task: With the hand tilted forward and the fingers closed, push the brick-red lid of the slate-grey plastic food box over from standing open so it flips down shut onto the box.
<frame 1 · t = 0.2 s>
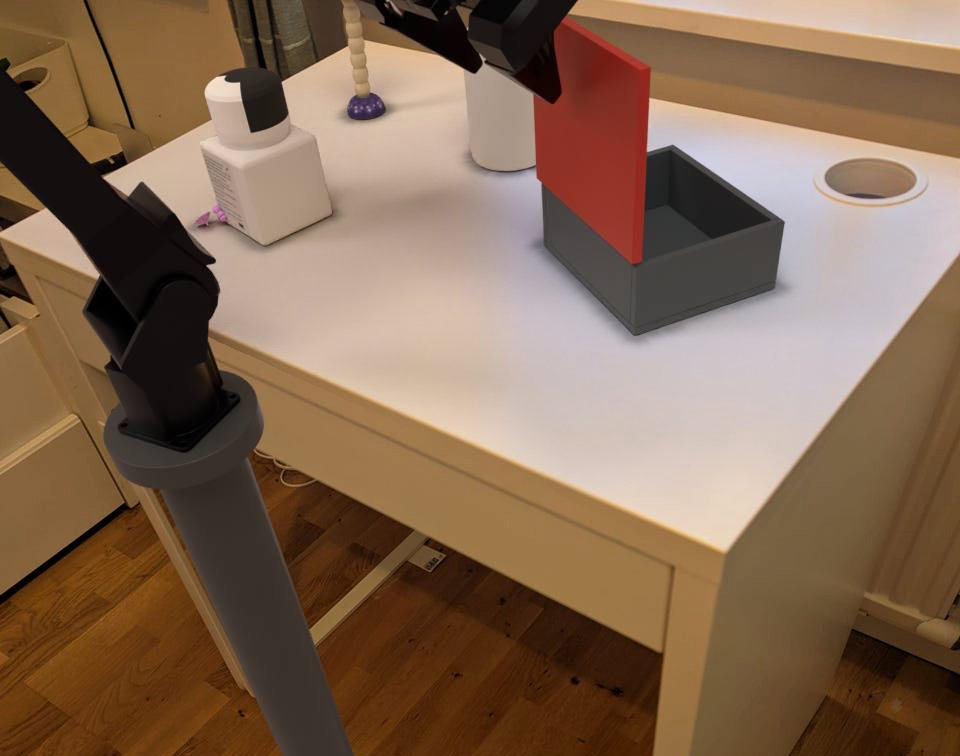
hand: (515, 83, 68), 15 cm above the table, tool tilted 30°, fingers open, 9 cm apart
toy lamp: (368, 114, 104), on the table
pill bottle: (511, 157, 93), on the table
pink bumpy piece: (213, 224, 88), on the table, touching container
lid: (585, 130, 66), point 13 cm above the table, hinge at 89.4°
food box: (653, 265, 76), on the table
container: (278, 220, 88), on the table, touching pink bumpy piece
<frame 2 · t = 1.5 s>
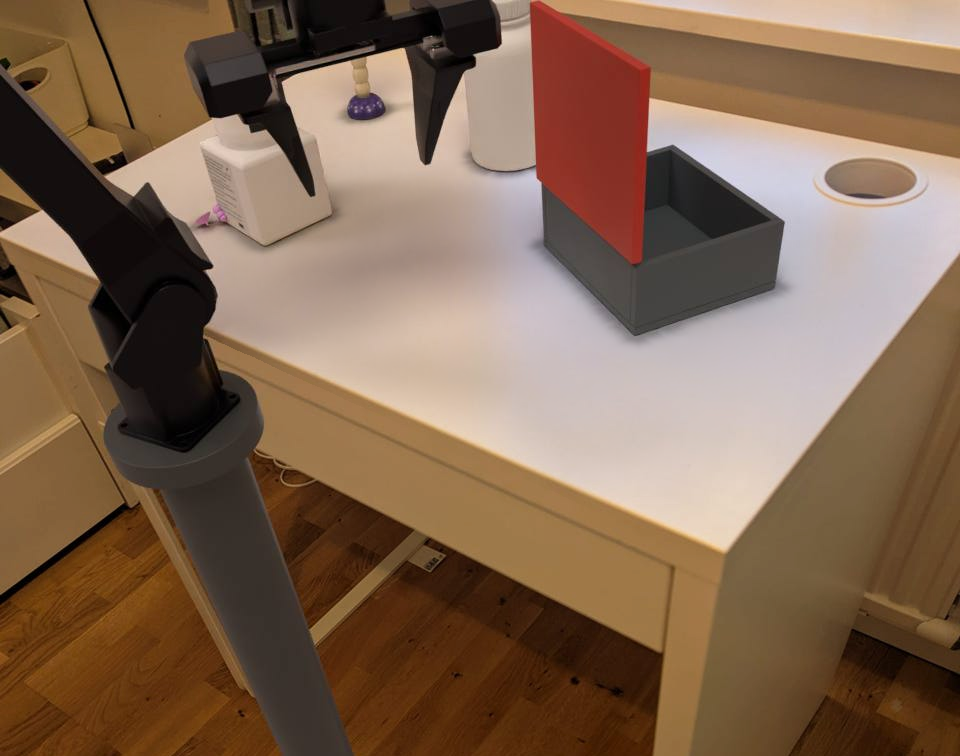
hand: (369, 178, 63), 13 cm above the table, tool pointing down, fingers open, 8 cm apart
nothing on the table moved.
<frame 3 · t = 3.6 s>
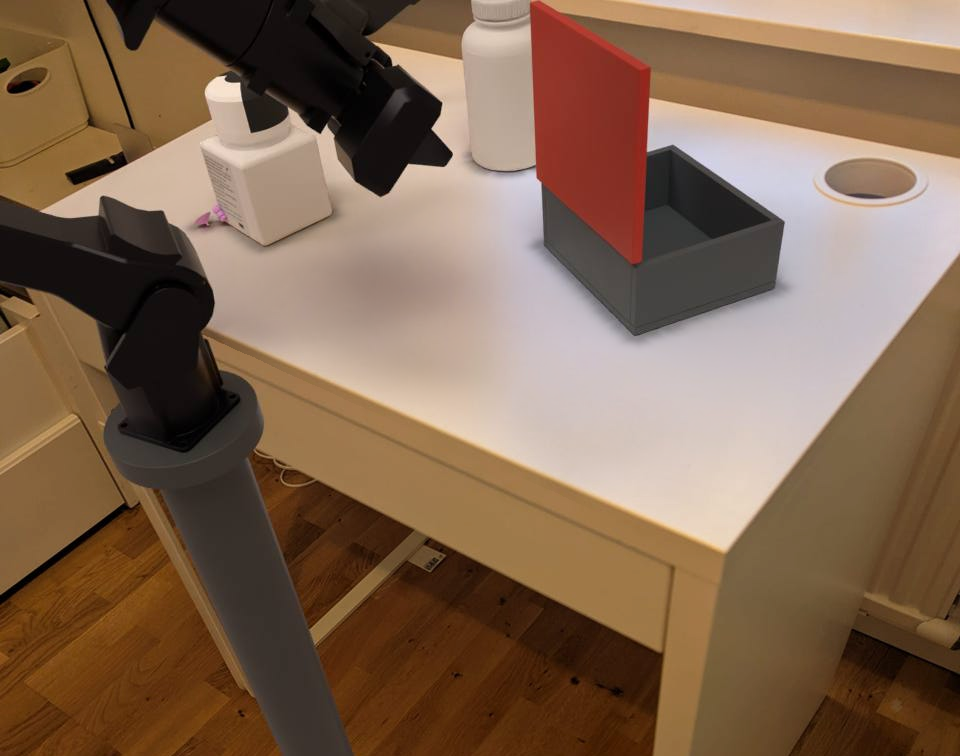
hand: (447, 158, 63), 13 cm above the table, tool tilted 45°, fingers closed
nothing on the table moved.
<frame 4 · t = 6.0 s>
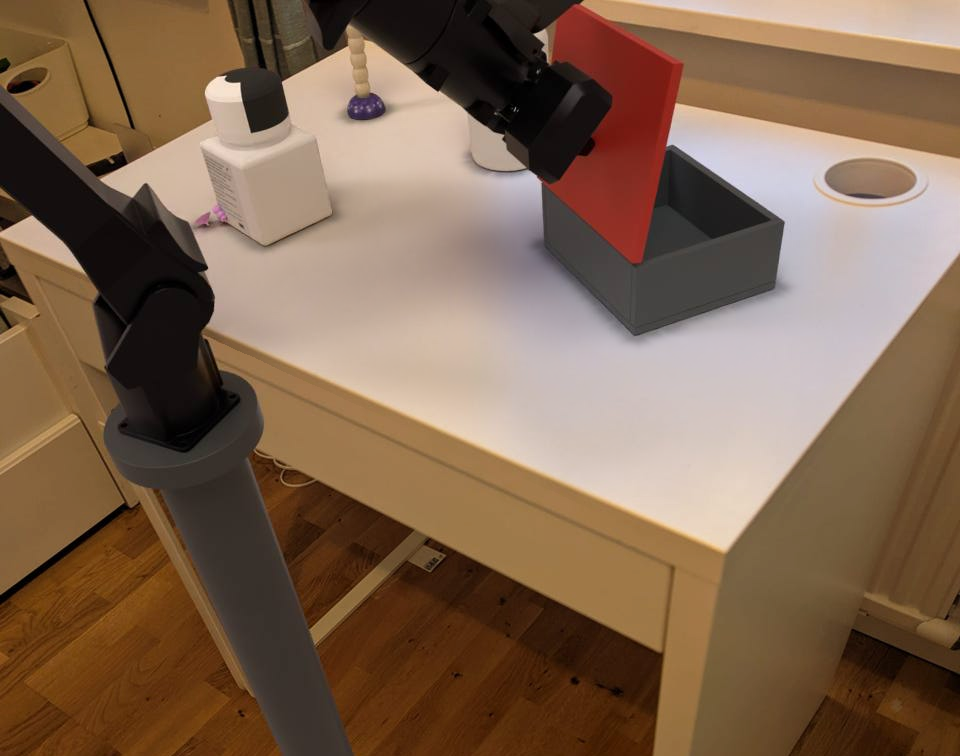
hand: (589, 148, 67), 11 cm above the table, tool tilted 45°, fingers closed, pressing on lid
lid: (599, 128, 66), point 13 cm above the table, hinge at 79.1°, touching gripper
everything else where it was.
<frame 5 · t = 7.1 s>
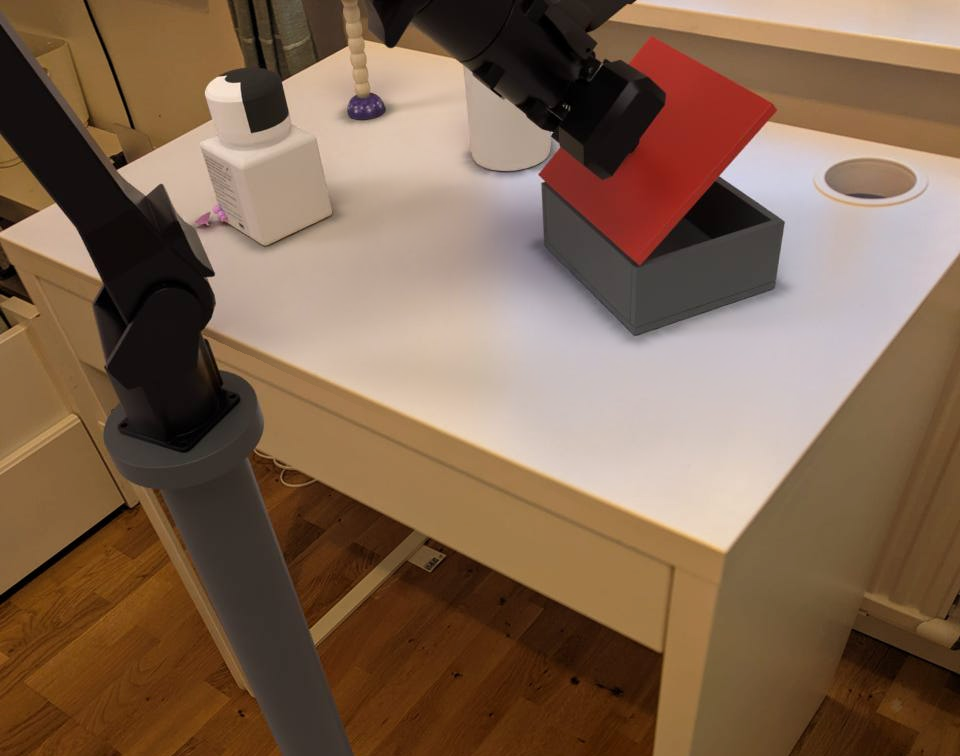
hand: (633, 145, 68), 11 cm above the table, tool tilted 45°, fingers closed
lid: (645, 145, 69), point 10 cm above the table, hinge at 40.0°
everything else where it was.
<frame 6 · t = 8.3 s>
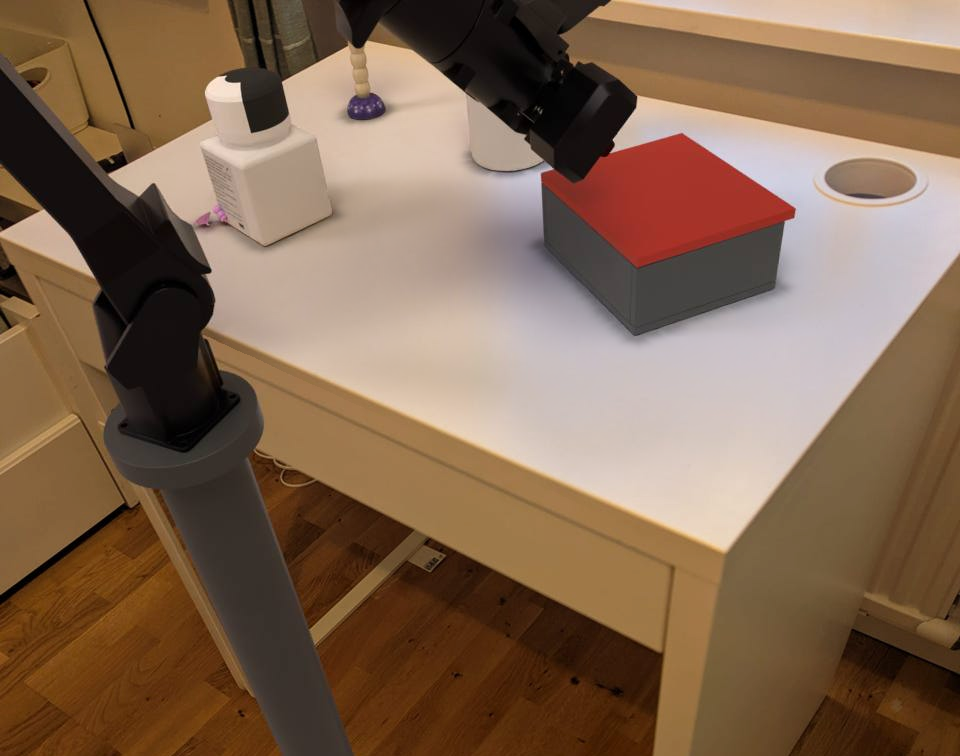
hand: (608, 149, 68), 11 cm above the table, tool tilted 45°, fingers closed
lid: (661, 194, 72), point 6 cm above the table, hinge at -0.2°
everything else where it was.
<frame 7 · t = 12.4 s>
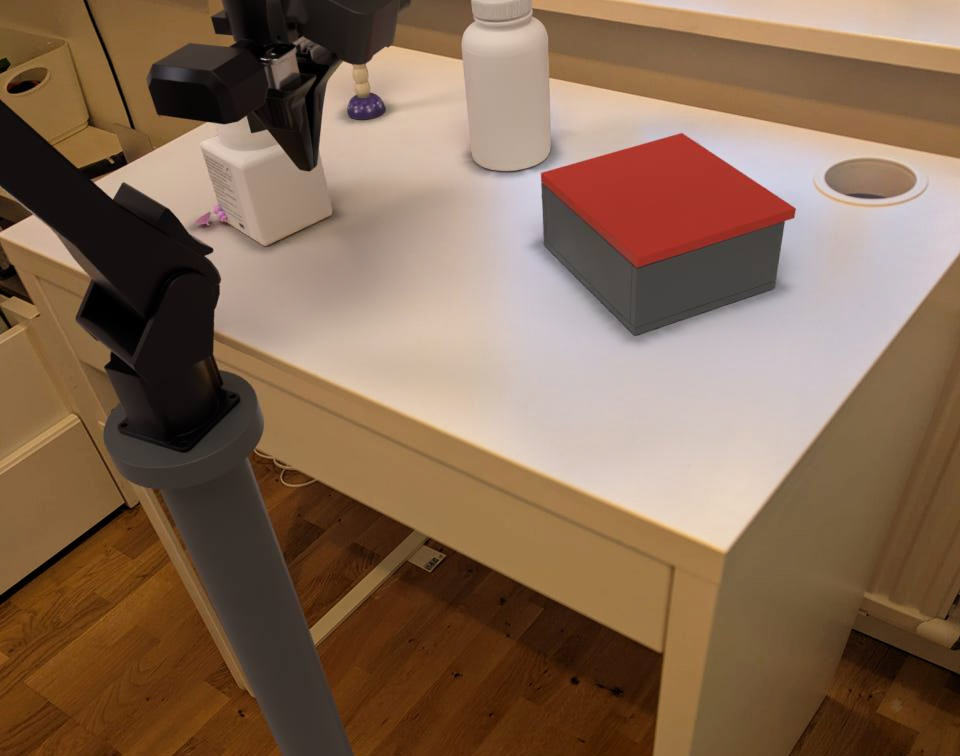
hand: (308, 168, 65), 13 cm above the table, tool pointing down, fingers closed
nothing on the table moved.
at the end: lid at +0° (first picture: +89°); container moved 0.1 cm from its start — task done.
